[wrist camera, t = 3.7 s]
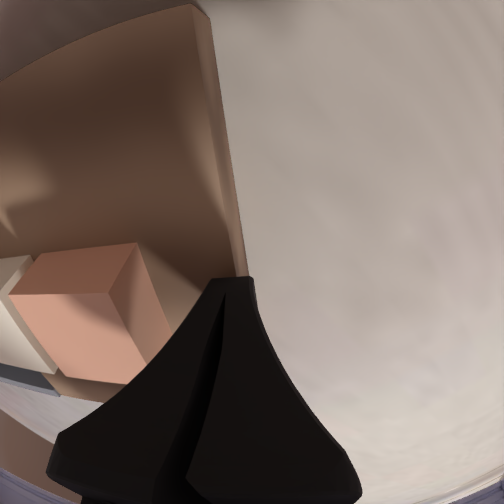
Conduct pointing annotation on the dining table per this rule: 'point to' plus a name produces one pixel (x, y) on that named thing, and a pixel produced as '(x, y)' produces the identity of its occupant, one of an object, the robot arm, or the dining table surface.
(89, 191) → the tan slab
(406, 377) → the dining table surface
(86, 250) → the terracotta tile
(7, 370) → the box
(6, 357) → the cream tile
